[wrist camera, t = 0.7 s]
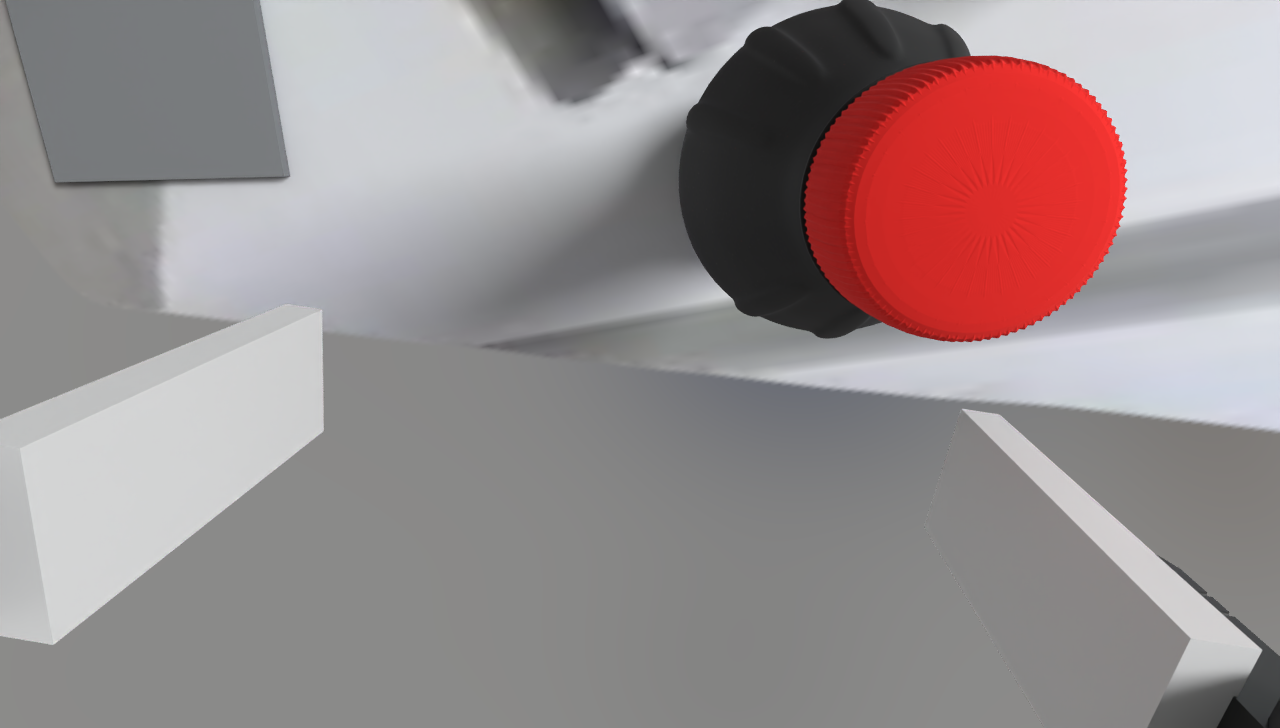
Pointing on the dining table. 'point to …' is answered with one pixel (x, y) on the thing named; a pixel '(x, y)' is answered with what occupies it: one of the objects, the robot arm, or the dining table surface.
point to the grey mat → (151, 88)
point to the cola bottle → (896, 179)
